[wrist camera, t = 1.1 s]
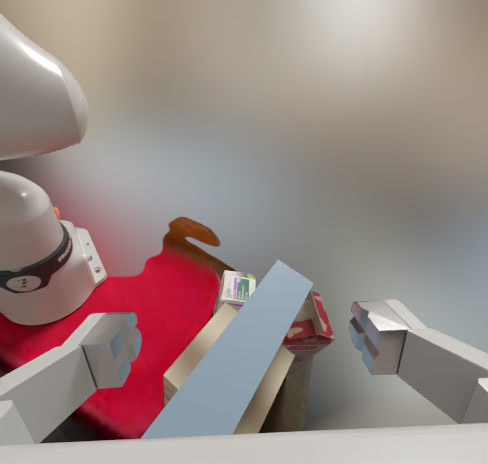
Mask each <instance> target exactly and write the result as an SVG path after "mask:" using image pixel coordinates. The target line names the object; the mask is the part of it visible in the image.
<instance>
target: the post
mask: <svg viewBox="0 0 488 464" xmlns="http://www.w3.org/2000/svg"><path fill="white" fill-rule="evenodd" d="M237 313H238V311H236V310H235V309H234V308H232V307H231V306H230V305H228V304H227V303H226V302H225V303H224V304H223V305H222V307H221V308H220V309H219V310H218V311H217V313H216V314H215V315H214V316H213V317H212V318H211V320H210V321H209V322H208V323H207V324H206V326H205V327H204V328H203V329H202V330H201V331H200V333H199V334H198V335H197V336H196V337H195V339H194V340H193V341H192V342H191V343H190V344H189V346H188V347H187V348H186V349H185V350H184V351H183V353H182V354H181V355H180V356H179V357H178V359H177V360H176V361H175V362H174V363H173V364H172V366H171V367H170V368H169V369H168V370H167V372H166V373H165V374H164V375H163V379H164V400H165V406H166V405H167V404H168V402H169V401H170V400H171V398H172V397H173V396H174V395H175V393H176V392H177V391H178V389H179V388H180V387H181V385H182V384H183V383H184V382H185V380H186V379H187V378H188V376H189V375H190V374H191V372H192V371H193V370H194V369H195V367H196V366H197V365H198V363H199V362H200V361H201V359H202V358H203V357H204V356H205V354H206V353H207V352H208V350H209V349H210V348H211V346H212V345H213V344H214V343H215V341H216V340H217V339H218V337H219V336H220V335H221V333H222V332H223V331H224V330H225V328H226V327H227V326H228V324H229V323H230V322H231V320H232V319H233V318H234V316H235V315H236V314H237ZM294 357H295V355H294V354H292V353H291V352H290V351H288V350H287V349H286V348H285V347H283V346H282V345H280V347H279V349H278V350H277V352H276V354H275V356H274V358H273V360H272V362H271V363H270V365H269V367H268V369H267V371H266V373H265V375H264V376H263V378H262V380H261V382H260V384H259V386H258V388H257V389H256V391H255V393H254V395H253V397H252V399H251V401H250V402H249V404H248V406H247V408H246V410H245V412H244V413H243V415H242V417H241V419H240V421H239V423H238V425H237V426H236V428H235V430H234V432H233V434H232V435H236V434H257V433H259V431H260V428H261V426H262V424H263V422H264V420H265V418H266V416H267V414H268V412H269V409H270V407H271V405H272V403H273V401H274V399H275V397H276V395H277V393H278V390H279V388H280V386H281V384H282V382H283V380H284V378H285V376H286V373H287V371H288V369H289V367H290V365H291V363H292V361H293V359H294Z"/></svg>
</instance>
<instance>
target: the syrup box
mask: <svg viewBox="0 0 488 464" xmlns="http://www.w3.org/2000/svg"><path fill="white" fill-rule="evenodd" d="M255 277H256V276H255V275H252V274H247V273H241V272H233V271H226V270H225V271H224V274H223V277H222V281H221V284H220V288H219V292H218V296H217V299H216V303H215V307H214V312H213V316H214V315H215V314H216V313H217V311H218V310H219V309H220V308H221V307H222V305H223V304H224V303H225V302H226V303H227V304H228V305H230V306H231V307H232V308H234V309H235V310H236V311H239V310H240V309H241V307H242V306H243V305H244V303H245V302H246V301H247V300H248V298H249V297H250V296H251V294H252V293H253V292H254V290H255Z"/></svg>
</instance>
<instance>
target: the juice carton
mask: <svg viewBox="0 0 488 464" xmlns="http://www.w3.org/2000/svg"><path fill="white" fill-rule="evenodd" d="M334 340H335V339H334V336H333V333H332V330H331V327H330V323H329V320H328V317H327V314H326V312H325V309H324V305H323V302H322V299H321V296H320V294H319V293H316V292H314V291H312V290H311V289H310V291H309V293H308V295H307V297H306V298H305V300H304V302H303V304H302V306H301V308H300V310H299V311H298V313H297V315H296V317H295V319H294V321H293V323H292V324H291V326H290V328H289V330H288V332H287V334H286V336H285V337H284V339H283V341H282V343H281V345H282V346H283V347H285V348H286V349H287V350H288V351H290V352H291V353H292V354H294V355H295V357H294V359H293V361H292V363H291V365H290V367H289V369H288V371H287V373H286V376H287V375H289V374H290V373H291V372H293V371H294V370H295V369H297V368H298V367H299V366H301V365H302V364H303V363H305V362H306V361H307V360H309V359H310V358H311V357H313V356H314V355H315V354H316V353H318V352H319V351H321V350H322V349H323V348H324V347H326V346H327V345H329V344H330V343H331V342H333V341H334Z"/></svg>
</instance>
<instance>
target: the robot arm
mask: <svg viewBox="0 0 488 464" xmlns="http://www.w3.org/2000/svg"><path fill="white" fill-rule="evenodd" d="M88 123H89V110H88V105H87V101H86V98H85V95H84V93H83V91H82V89H81V87H80V85H79V84H78V82H77V81H76V79H75V78H74V76H73V75H72V74H71V73H70V71H69V70H68V69H67V68H66V67H65V66H64V65H63V64H62V63H61V62H60V61H59V60H57V59H56V58H55V57H54V56H52V55H51V54H50V53H48V52H47V51H45V50H44V49H42V48H41V47H39V46H38V45H36V44H35V43H34V42H32V41H31V40H30V39H28V38H27V37H26V36H25V35H23V34H22V33H21V32H20V31H19V30H18V29H16V28H15V27H14V26H13V25H12V24H11V23H10V22H9V21H8V20H7V19H6V18H5V17H4V16H3V15H2V14H1V13H0V160H5V159H14V158H23V157H31V156H38V155H43V154H47V153H50V152H54V151H57V150H61V149H64V148H67V147H70V146H73V145H76V144H79V143H80V142H81V140H82V139H83V138H84V136H85V134H86V131H87V128H88ZM59 217H60V214H59V210H58V208H57V207H53V206H52V204H51V202H50V200H49V197H48V195H47V194H46V192H45V191H44V190H43V189H41V188H40V187H39V186H38V185H36V184H35V183H33V182H31V181H30V180H28V179H26V178H24V177H21V176H19V175H16V174H12V173H8V172H3V171H0V312H1V313H2V314H4V315H5V316H6V317H7V318H8V319H9V320H11V321H13V322H15V323H18V324H23V325H41V324H46V323H50V322H53V321H56V320H59V319H61V318H63V317H65V316H67V315H69V314H71V313H72V312H74V311H75V310H76V309H78V308H79V307H80V306H81V305H82V304H83V303H84V302H85V301H86V300H87V298H88V297H89V296H90V294H91V293H92V291H93V290H94V289H95V288H96V287H97V286H98V285H100V284H101V283H102V282H104V281H105V280H106V278H107V274H106V272H105V269H104V267H103V265H102V263H101V260H100V258H99V256H98V253H97V251H96V249H95V247H94V244H93V242H92V240H91V237H90V235H89V233H88V231H87V230H86V229H81V228H75V227H74V226H73V224H72V223H71V222H68V221H62V220H58V218H59ZM98 271H100V272H99V273H96V272H98ZM351 312H352V313H353V315H354V317H353V318H352V319H351V320H350V325H349V330H350V336H351V339H352V342H353V344H354V346H355V347H356V348H357V349H358V350H360V351H361V352H362V360H363V361H364V363H365V365H366V366H367V368H368V370H369V372H370V373H371V375H394V374H398V376H399V377H400V378H401V379H402V380H403V381H405V382H406V383H407V384H408V385H410V386H411V387H412V388H414V389H415V390H416V391H417V392H419V393H420V394H421V395H422V396H424V397H425V398H426V399H428V400H429V401H430V402H431V403H433V404H434V405H435V406H437V407H438V408H439V409H441V410H442V411H443V412H444V413H445V414H447V415H448V416H449V417H450V418H452V419H453V420H454V421H456V422H457V423H458V424H450V425H428V426H407V427H384V428H365V429H364V428H363V429H342V430H321V431H300V432H279V433H257V434H236V435H214V436H193V437H171V438H150V439H128V440H107V441H86V442H64V443H43V444H39V443H40V442H41V441H42V440H43V439H44V438H45V437H46V436H48V435H49V434H50V433H51V432H52V431H53V430H54V429H55V428H56V427H57V426H58V425H59V424H61V423H62V422H63V421H64V420H65V419H66V418H67V417H68V416H69V415H70V414H71V413H72V412H74V411H75V410H76V409H77V408H78V407H79V406H80V405H81V404H82V403H83V402H84V401H85V400H87V399H88V398H89V397H90V396H91V395H92V394H93V393H94V392H95V391H96V389H100V388H112V387H122V386H123V384H124V382H125V380H126V378H127V376H128V374H129V372H130V370H131V367H130V363H131V362H132V361H134V360H135V359H136V358H137V356H138V354H139V352H140V347H141V333H140V331H139V330H138V329H137V328H136V327H135V325H136V324H137V322H138V321H137V317H136V314H135V313H133V312H125V313H95V314H91V315H89V316H88V317H87V318H86V320H85V321H84V322H83V323H82V324H81V325H80V326H79V327H78V328H77V329H76V330H75V332H74V333H73V334H72V335H71V336H70V337H69V338H68V339H67V340H66V341H65V342H64V344H63V345H62V346H61V347H55V348H53V349H51V350H50V351H48V352H46V353H44V354H43V355H41V356H39V357H37V358H35V359H34V360H32V361H30V362H28V363H26V364H25V365H23V366H21V367H19V368H17V369H16V370H14V371H12V372H10V373H9V374H7V375H5V376H3V377H1V378H0V464H488V354H487V353H485V352H483V351H480V350H478V349H476V348H474V347H472V346H469V345H467V344H465V343H463V342H460V341H459V340H456V339H454V338H452V337H450V336H447V335H445V334H443V333H441V332H439V331H436V330H434V329H428V328H427V327H425V325H423V324H422V323H421V322H420V321H419V320H418V319H417V318H416V317H415V316H414V315H413V314H412V313H411V312H410V311H409V310H408V309H407V308H406V307H405V306H403V305H402V303H401V302H399V301H398V300H396V299H387V300H379V301H360V302H353V304H352V308H351Z"/></svg>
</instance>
